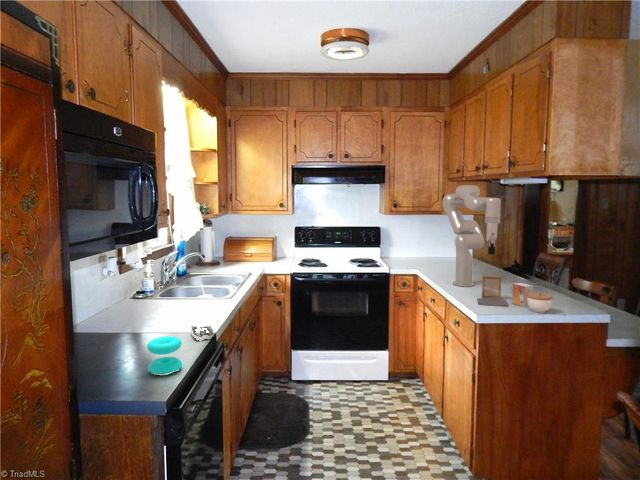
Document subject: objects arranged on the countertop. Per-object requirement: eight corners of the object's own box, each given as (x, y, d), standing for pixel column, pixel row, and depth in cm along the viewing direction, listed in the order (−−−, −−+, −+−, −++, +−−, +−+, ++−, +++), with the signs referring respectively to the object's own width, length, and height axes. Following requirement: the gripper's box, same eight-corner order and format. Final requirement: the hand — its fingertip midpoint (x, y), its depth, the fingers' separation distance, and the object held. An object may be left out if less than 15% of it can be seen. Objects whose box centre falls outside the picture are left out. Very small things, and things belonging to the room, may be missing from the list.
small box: (511, 303, 218) (512, 283, 217) (520, 302, 220) (520, 282, 219) (524, 307, 211) (525, 286, 210) (532, 306, 212) (533, 285, 212)
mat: (477, 299, 227) (477, 298, 227) (505, 301, 223) (505, 300, 223) (478, 304, 216) (478, 303, 216) (508, 306, 211) (508, 305, 211)
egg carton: (190, 335, 170) (190, 325, 170) (209, 332, 174) (209, 322, 173) (194, 343, 161) (194, 332, 160) (214, 340, 164) (214, 329, 164)
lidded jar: (550, 315, 196) (551, 295, 195) (525, 312, 201) (525, 292, 200) (552, 310, 205) (553, 291, 204) (527, 307, 210) (528, 288, 209)
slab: (481, 297, 233) (482, 275, 232) (499, 298, 230) (500, 276, 229) (482, 299, 228) (482, 276, 227) (500, 300, 225) (501, 277, 224)
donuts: (187, 335, 137) (170, 346, 127) (188, 366, 138) (172, 378, 128) (158, 334, 139) (140, 344, 129) (159, 364, 140) (141, 376, 130)
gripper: (484, 219, 242) (483, 252, 244) (485, 221, 227) (484, 255, 229) (498, 220, 240) (497, 252, 242) (501, 221, 225) (499, 256, 227)
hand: (491, 253), depth 235 cm, fingers closed
